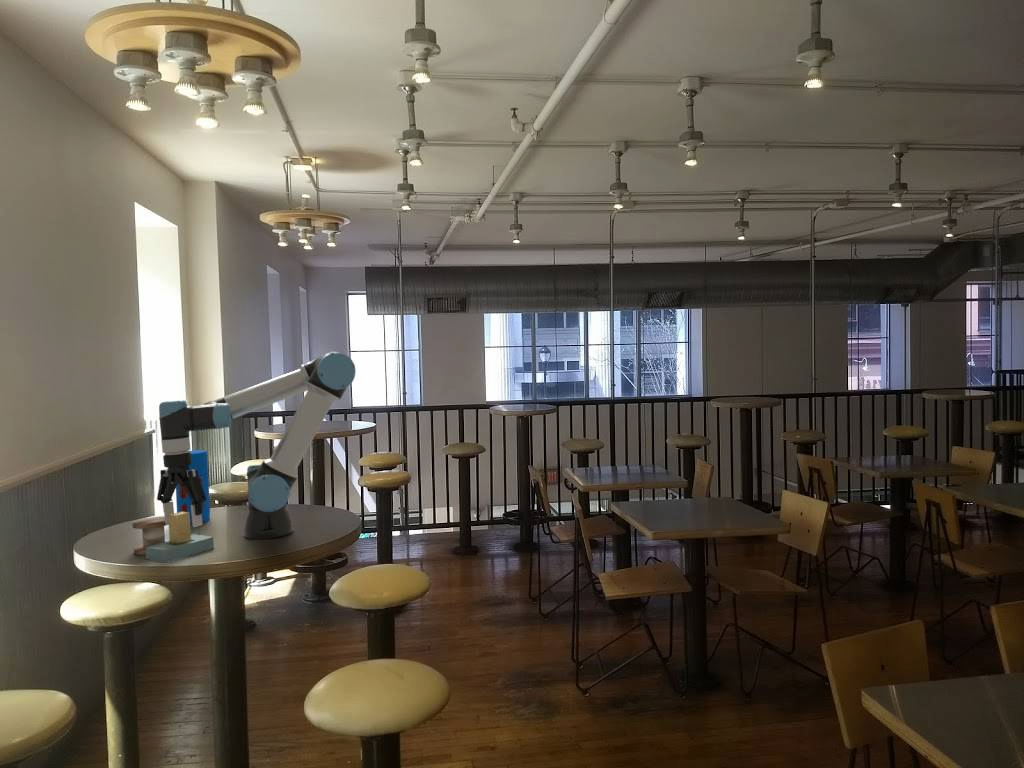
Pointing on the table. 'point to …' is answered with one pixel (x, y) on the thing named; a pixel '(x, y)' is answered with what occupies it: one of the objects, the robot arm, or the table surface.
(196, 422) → the robot arm
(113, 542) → the table surface
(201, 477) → the thermos
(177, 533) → the tab
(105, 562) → the table surface
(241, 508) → the table surface
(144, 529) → the spool
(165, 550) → the notch board
